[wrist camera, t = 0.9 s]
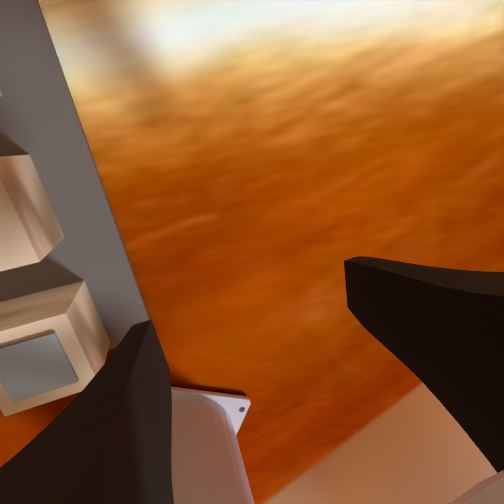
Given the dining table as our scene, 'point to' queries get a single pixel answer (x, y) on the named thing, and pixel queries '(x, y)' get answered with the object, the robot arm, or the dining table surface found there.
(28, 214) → the plain block
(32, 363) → the marked block 2
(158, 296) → the dining table surface
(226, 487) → the robot arm
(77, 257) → the mat
